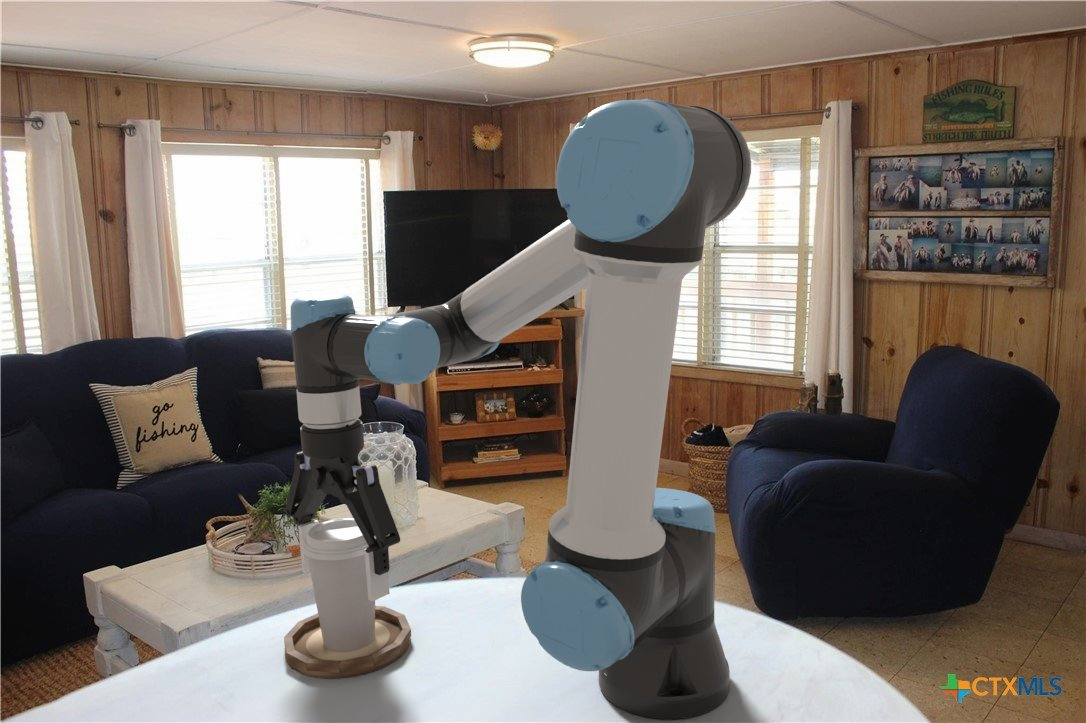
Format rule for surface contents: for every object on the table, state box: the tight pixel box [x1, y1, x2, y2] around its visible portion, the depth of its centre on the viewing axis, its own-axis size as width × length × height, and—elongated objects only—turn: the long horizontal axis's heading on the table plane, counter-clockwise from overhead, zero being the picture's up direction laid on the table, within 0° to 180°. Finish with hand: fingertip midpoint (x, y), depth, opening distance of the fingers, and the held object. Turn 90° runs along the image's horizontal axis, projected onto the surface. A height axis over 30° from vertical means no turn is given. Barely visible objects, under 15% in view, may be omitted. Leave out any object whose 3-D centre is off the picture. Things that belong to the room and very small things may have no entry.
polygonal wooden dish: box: [283, 605, 412, 680], centre depth 116 cm, size 16×16×2 cm
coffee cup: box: [302, 517, 376, 652], centre depth 114 cm, size 10×10×15 cm
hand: (344, 583), depth 114 cm, fingers open, 13 cm apart
